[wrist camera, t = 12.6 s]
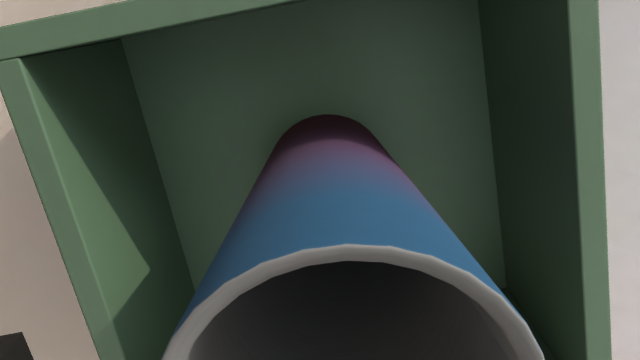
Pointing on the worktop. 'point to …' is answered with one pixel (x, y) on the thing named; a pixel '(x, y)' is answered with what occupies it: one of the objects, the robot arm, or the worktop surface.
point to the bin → (298, 104)
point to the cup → (344, 267)
